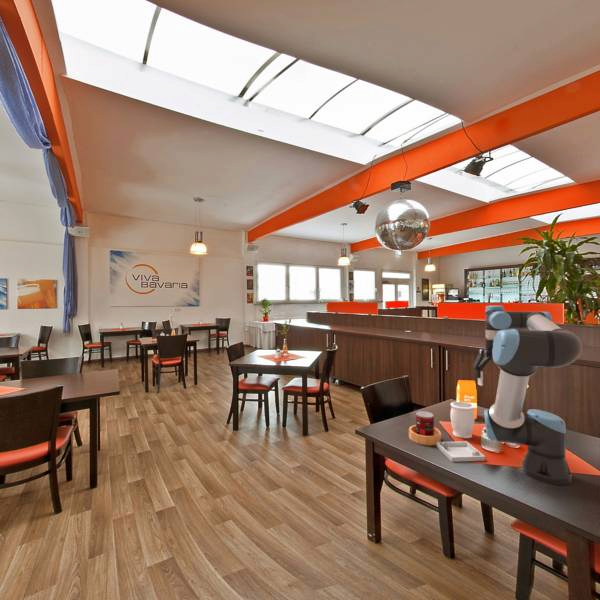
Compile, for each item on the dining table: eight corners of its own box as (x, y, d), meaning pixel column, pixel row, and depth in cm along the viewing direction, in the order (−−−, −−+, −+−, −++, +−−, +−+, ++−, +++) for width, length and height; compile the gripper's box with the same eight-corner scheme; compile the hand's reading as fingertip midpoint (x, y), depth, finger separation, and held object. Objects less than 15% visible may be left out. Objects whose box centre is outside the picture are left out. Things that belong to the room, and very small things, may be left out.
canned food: (417, 432, 163) (417, 409, 163) (435, 435, 159) (435, 412, 159) (414, 438, 157) (414, 414, 157) (432, 441, 153) (432, 418, 153)
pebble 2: (481, 459, 138) (481, 452, 138) (474, 459, 138) (474, 452, 138) (477, 456, 141) (477, 449, 141) (470, 456, 141) (470, 449, 141)
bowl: (446, 445, 151) (446, 436, 151) (416, 446, 151) (416, 437, 151) (432, 432, 165) (432, 424, 165) (404, 433, 165) (404, 425, 165)
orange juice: (477, 418, 183) (477, 382, 182) (459, 417, 185) (459, 381, 184) (473, 413, 190) (473, 379, 190) (456, 412, 192) (456, 378, 192)
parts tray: (485, 461, 137) (485, 456, 137) (451, 462, 136) (451, 457, 136) (466, 445, 151) (466, 441, 151) (436, 446, 150) (436, 442, 150)
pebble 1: (449, 449, 146) (449, 443, 146) (442, 450, 146) (442, 443, 146) (446, 446, 149) (446, 440, 149) (439, 447, 149) (439, 440, 149)
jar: (469, 431, 167) (469, 401, 166) (478, 440, 156) (478, 408, 156) (447, 430, 168) (447, 400, 167) (454, 439, 157) (454, 407, 157)
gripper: (515, 337, 158) (515, 381, 158) (464, 338, 157) (464, 383, 157) (526, 339, 150) (526, 386, 151) (473, 340, 149) (473, 387, 150)
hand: (494, 384), depth 154 cm, fingers open, 13 cm apart
